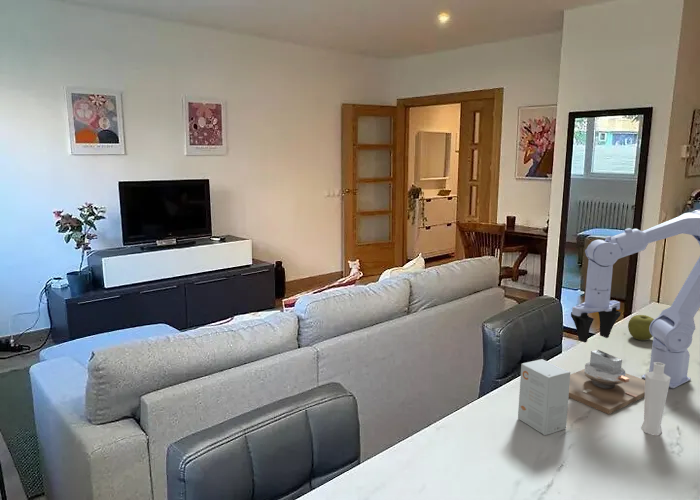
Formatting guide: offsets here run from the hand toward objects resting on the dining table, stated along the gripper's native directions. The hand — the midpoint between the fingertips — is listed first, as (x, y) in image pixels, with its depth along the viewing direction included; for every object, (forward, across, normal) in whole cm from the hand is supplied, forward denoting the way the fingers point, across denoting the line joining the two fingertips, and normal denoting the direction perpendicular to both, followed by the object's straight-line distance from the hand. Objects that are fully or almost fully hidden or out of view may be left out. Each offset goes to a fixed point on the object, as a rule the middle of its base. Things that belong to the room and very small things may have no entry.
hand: (593, 338), depth 136 cm
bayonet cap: (+7, -3, -7) cm, 11 cm away
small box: (+11, -29, -13) cm, 34 cm away
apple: (+11, +37, +14) cm, 41 cm away
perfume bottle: (+11, -10, -25) cm, 29 cm away
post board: (+10, -3, -6) cm, 13 cm away
